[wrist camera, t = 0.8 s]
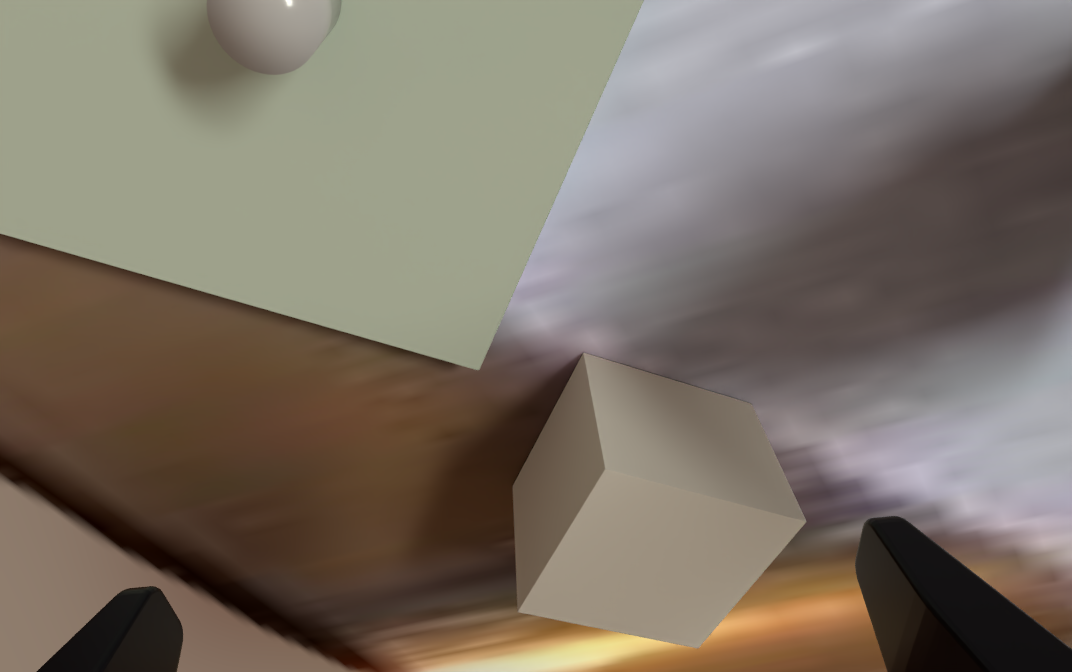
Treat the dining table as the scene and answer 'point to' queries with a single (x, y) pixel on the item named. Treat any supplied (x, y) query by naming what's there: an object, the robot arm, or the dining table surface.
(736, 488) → the block
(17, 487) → the dining table surface
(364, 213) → the stub plate
